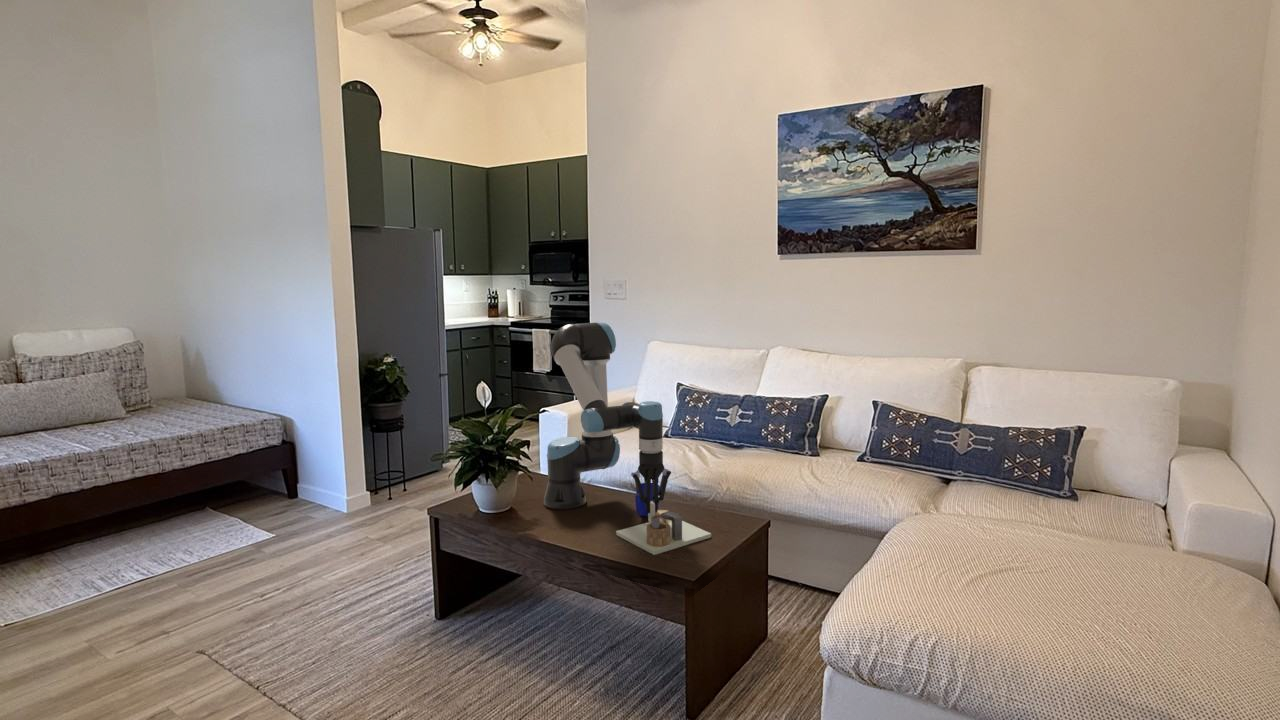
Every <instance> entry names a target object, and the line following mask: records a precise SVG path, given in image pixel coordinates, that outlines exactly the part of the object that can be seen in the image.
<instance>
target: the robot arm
mask: <svg viewBox="0 0 1280 720" xmlns="http://www.w3.org/2000/svg"><path fill="white" fill-rule="evenodd" d="M616 346H617V341H616V336H615V333H614V330H613V329H612V327H611V326H610V325H609V324H608V323H606V322H596V321H595V322H586V323H569V324H568V323H567V324H565V325H563V326H561V327H560V328H558V329H557V331H556V332H555V333H554V335H553V337H552V339H551V343H550V352H551V355H552V359H553V361H554V362H555V363H556V365H558V366H560V368H561V369H562V372H563V374H564V375H565V377H566V379H567V381H568V384H569V385H570V387H571V389H572V392H573V394H574V395H575V398H576V399H577V401H578V404H579V406H580V408H581V409H582V412H581V413H580V423H581V427H582V429H583V430H584V431H583V432H582V433H581V439H580V438H578V437H577V436H564V437H563V436H562V437H559V438H556V439H554V440H552V441H551V442H549V443H548V445H547V454H546V458H547V459H546V461H547V480H548V481H547V486H546V488H545V493H544V496H543V505H544V506H545V507H546V508H549V509H553V510H572V509H577V508H579V507H582V506H583V505H585V504H586V501H587V499H586V494H585V490H584V488H583V485H582V481H581V473H585V472H592V471H598V470H606V469H608V468H612V467H614V466H615V465H616V464H617V463H618V461H619V458H620V454H621V446H620V441H619V439H618V438H617V436H615V435H614V431H613V430H622V429H630V428H636V429H638V449H639V452H638V459H639V460H638V461H639V462H638V463H639V465H638V467H637V470H636V471H634V472H631V474H630V475H631V477H632V478H633V480H634V484H635V489H636V488H637V491H638V495H639V499H640V500H641V501H642V502H643V503H645V511H646V512H647V513H648V518H647V519H648V522H650V523H652V517H654V516H655V512H657V511H658V510H659V505H658V503H660V502H661V501H663V500H664V498H665V494H666V489H667V485H668V482H669V481H668V480H669V478H670V476H671V474H672V471H671V470H670V469H668V468H665V465H664V464H663V463H664V454H663V453H664V452H663V449H664V447H663V446H664V445H663V443H664V442H663V426H664V424H663V423H664V422H663V419H664V418H663V417H664V414H663V405H662V403H661V402H659V401H652V400H651V401H650V400H649V401H647V400H646V401H641V402H640V403H636V402H633V401H632V402H630V401H627V402H625V403H622V404H620V405H615V406H614V405H613V406H609V403H608V402H609V401H608V372H607V363H608V362H609V361H610V360H611V354H613V353H614V352H615V350H616ZM661 475H662V476H661ZM660 476H661V478H660ZM640 477H642V478H643V480H644V483H645V497H644V494H643V490H642V486H641V480H640ZM659 478H660V479H661V480H660V484H659ZM650 483H652V500H653V501H651V490H650ZM658 485H659V486H660V488H659V492H658Z"/></svg>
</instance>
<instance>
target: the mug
mask: <svg viewBox="0 0 1280 720" xmlns="http://www.w3.org/2000/svg"><path fill="white" fill-rule="evenodd" d="M641 486H642V490H643V494H644V497H645V482H643V483H641ZM659 488H660V484H658V492H659ZM650 490H651V501H653V500H652V482H651V483H650ZM635 491H636V492H635V495H634V496H635V499H634V500H635V507H636V508H635V509H636V513H637V514H638V515H639V516H641V517H642V516H643V517H646V518H647V517H648V513H647V512H646V511H645V503H643V502H642V501H641V500H640V499H639V495H638V491H637V488H636V487H635ZM659 503H660V502H659ZM659 503H658V506H659ZM655 513H656V512H655Z"/></svg>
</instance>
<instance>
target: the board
mask: <svg viewBox="0 0 1280 720" xmlns="http://www.w3.org/2000/svg"><path fill="white" fill-rule="evenodd" d="M647 524H650V522H649V521H648V522H645V523H641V524H637V525H634V526H630V527H626V528H623V529H619V530H616V531H615V535H616V536H618V537H620V538H621V539H623V540H625V541H627V542H629V543H631V544H632V545H634V546H636V547H639V548H640V549H642V550H644V551H646V552H647V553H649V554H651V555H653V556H656V555H659V554H661V553H664V552H669V551H671V550H674V549H678V548H681V547H684V546H688V545H691V544H694V543H697V542H699V541H700V542H701V541H704V540H706V539H710V538H712V533H711V532H709V531H707V530H704V529H702V528H700V527H698V526H696V525H693V524H691V523H688V522H686V521H684V520H682V540H677V541H675V540H673V539H672V521H671V520H669V525H670V544H669V545H666V546H663V547H654V546H651V545H649V544H647Z"/></svg>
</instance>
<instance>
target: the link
mask: <svg viewBox="0 0 1280 720" xmlns="http://www.w3.org/2000/svg"><path fill="white" fill-rule="evenodd" d="M667 511H669V509H658V511H657V512H656V513H655V516H658V517H660V529H653V528H652V523H650V524H647V544H649V545H651V546H654V547H663V546H666V545H669V544H670V525H669V520H667V519H664V518H661V514H662V513H664V512H667Z"/></svg>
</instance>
